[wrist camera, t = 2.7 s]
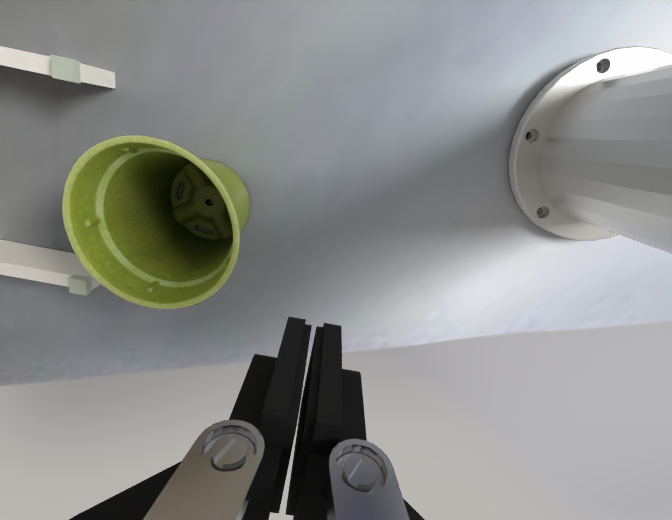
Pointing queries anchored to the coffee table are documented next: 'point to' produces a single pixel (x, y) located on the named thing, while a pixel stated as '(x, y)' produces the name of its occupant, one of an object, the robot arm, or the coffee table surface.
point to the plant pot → (154, 220)
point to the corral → (35, 259)
